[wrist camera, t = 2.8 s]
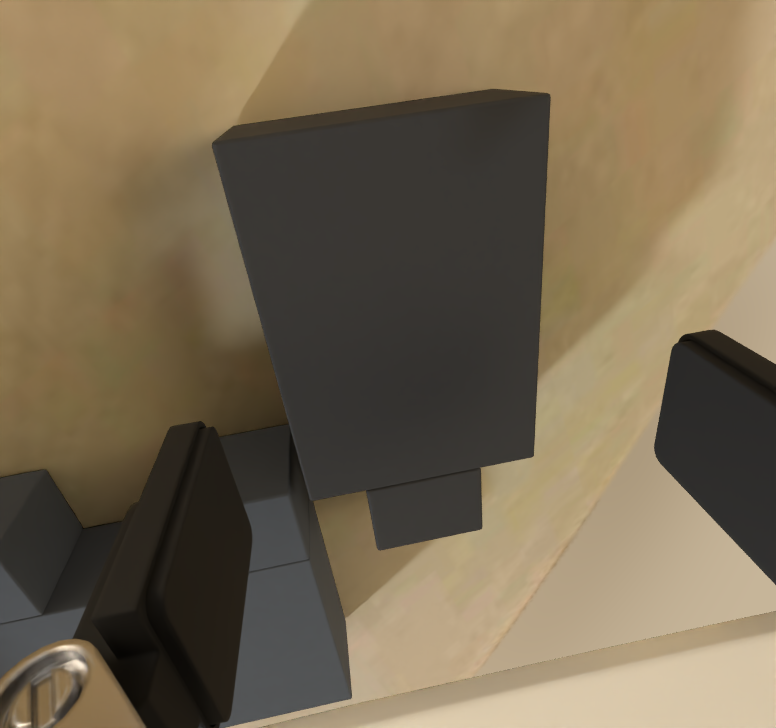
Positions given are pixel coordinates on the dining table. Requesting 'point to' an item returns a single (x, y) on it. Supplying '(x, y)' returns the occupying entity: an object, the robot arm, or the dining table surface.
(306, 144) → the black tabbed block
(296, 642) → the grey block
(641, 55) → the dining table surface
